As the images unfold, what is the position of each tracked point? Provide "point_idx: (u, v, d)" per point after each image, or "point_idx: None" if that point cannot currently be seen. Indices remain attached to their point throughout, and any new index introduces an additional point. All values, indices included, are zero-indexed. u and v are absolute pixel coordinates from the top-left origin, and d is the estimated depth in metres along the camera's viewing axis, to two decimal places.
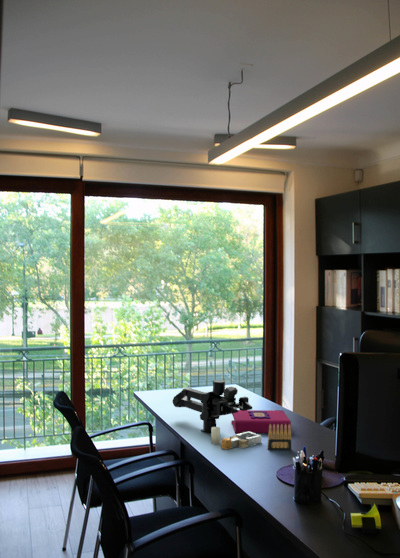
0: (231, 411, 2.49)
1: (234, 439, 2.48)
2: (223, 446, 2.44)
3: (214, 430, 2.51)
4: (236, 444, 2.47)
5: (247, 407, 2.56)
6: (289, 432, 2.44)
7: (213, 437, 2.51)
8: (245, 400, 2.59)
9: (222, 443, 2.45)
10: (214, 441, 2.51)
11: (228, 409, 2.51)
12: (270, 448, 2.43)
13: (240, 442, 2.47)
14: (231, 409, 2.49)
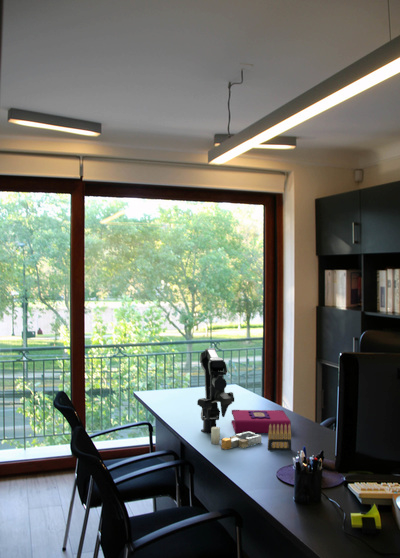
0: (205, 413, 2.50)
1: (234, 439, 2.48)
2: (223, 446, 2.44)
3: (214, 430, 2.51)
4: (236, 444, 2.47)
5: (222, 410, 2.56)
6: (289, 432, 2.44)
7: (213, 437, 2.51)
8: (228, 404, 2.55)
9: (222, 443, 2.45)
10: (214, 441, 2.51)
11: (206, 409, 2.49)
12: (270, 448, 2.43)
13: (240, 442, 2.47)
14: (207, 413, 2.49)
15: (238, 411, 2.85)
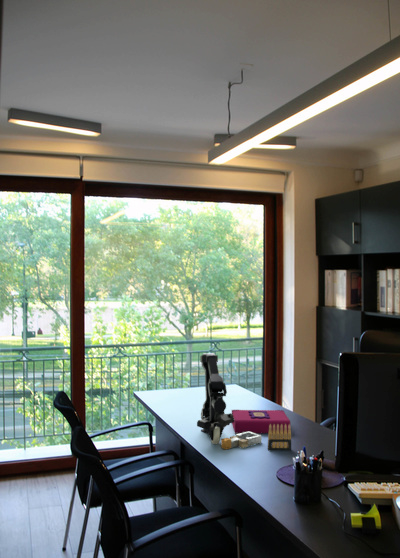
0: (209, 433, 2.52)
1: (234, 439, 2.48)
2: (223, 446, 2.44)
3: (214, 430, 2.51)
4: (236, 444, 2.47)
5: None
6: (289, 432, 2.44)
7: (213, 437, 2.51)
8: (224, 426, 2.54)
9: (222, 443, 2.45)
10: (214, 441, 2.51)
11: (210, 429, 2.51)
12: (270, 448, 2.43)
13: (240, 442, 2.47)
14: (210, 434, 2.51)
15: (238, 411, 2.85)
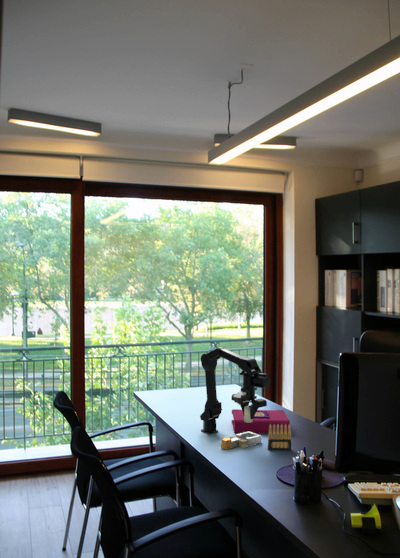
0: None
1: (234, 439, 2.48)
2: (223, 446, 2.44)
3: None
4: (236, 444, 2.47)
5: None
6: (289, 432, 2.44)
7: None
8: (250, 407, 2.50)
9: (222, 443, 2.45)
10: None
11: None
12: (270, 448, 2.43)
13: (240, 442, 2.47)
14: None
15: (238, 411, 2.86)
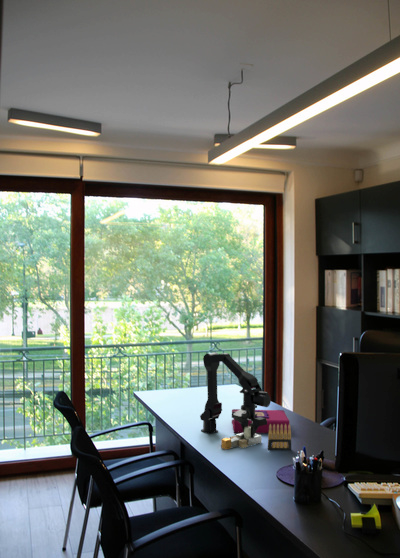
0: None
1: (234, 439, 2.48)
2: (223, 446, 2.44)
3: None
4: (236, 444, 2.47)
5: None
6: (289, 432, 2.44)
7: None
8: (251, 426, 2.50)
9: (222, 443, 2.45)
10: None
11: None
12: (270, 448, 2.43)
13: (240, 442, 2.47)
14: None
15: None
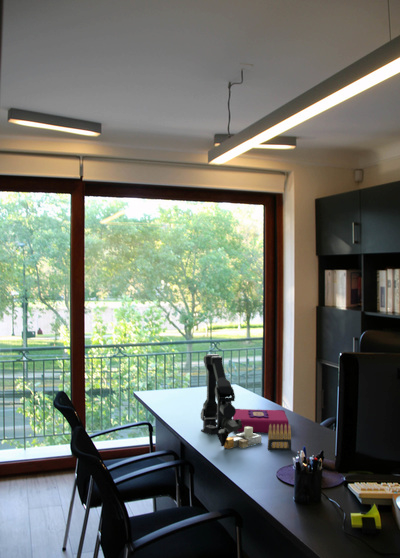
0: (219, 439, 2.44)
1: (236, 438, 2.49)
2: (225, 445, 2.45)
3: None
4: (238, 443, 2.48)
5: None
6: (289, 432, 2.44)
7: None
8: (228, 433, 2.43)
9: None
10: None
11: (220, 435, 2.43)
12: (270, 448, 2.43)
13: (240, 442, 2.47)
14: (221, 439, 2.43)
15: (238, 410, 2.87)
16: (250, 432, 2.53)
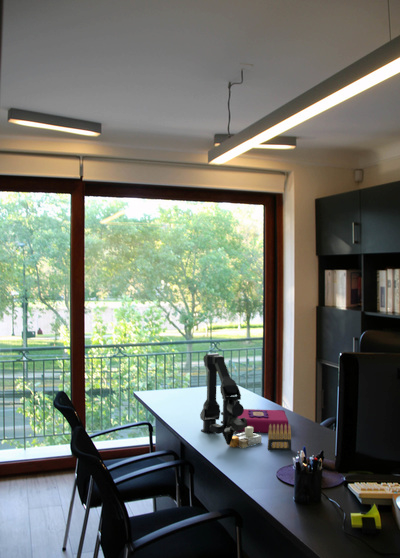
0: (225, 437, 2.46)
1: (242, 437, 2.51)
2: (231, 444, 2.47)
3: None
4: None
5: None
6: (289, 432, 2.44)
7: None
8: (234, 432, 2.46)
9: None
10: None
11: (226, 433, 2.46)
12: (270, 448, 2.43)
13: (240, 442, 2.47)
14: (226, 438, 2.45)
15: None
16: (251, 432, 2.53)
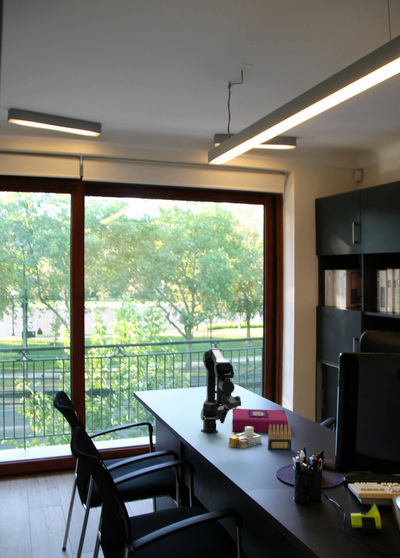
0: (219, 416, 2.43)
1: (242, 437, 2.51)
2: (231, 444, 2.47)
3: None
4: None
5: None
6: (289, 432, 2.44)
7: None
8: (228, 410, 2.43)
9: (230, 441, 2.48)
10: None
11: (219, 412, 2.43)
12: (270, 448, 2.43)
13: (240, 442, 2.47)
14: (220, 416, 2.42)
15: (238, 410, 2.88)
16: (251, 432, 2.53)
